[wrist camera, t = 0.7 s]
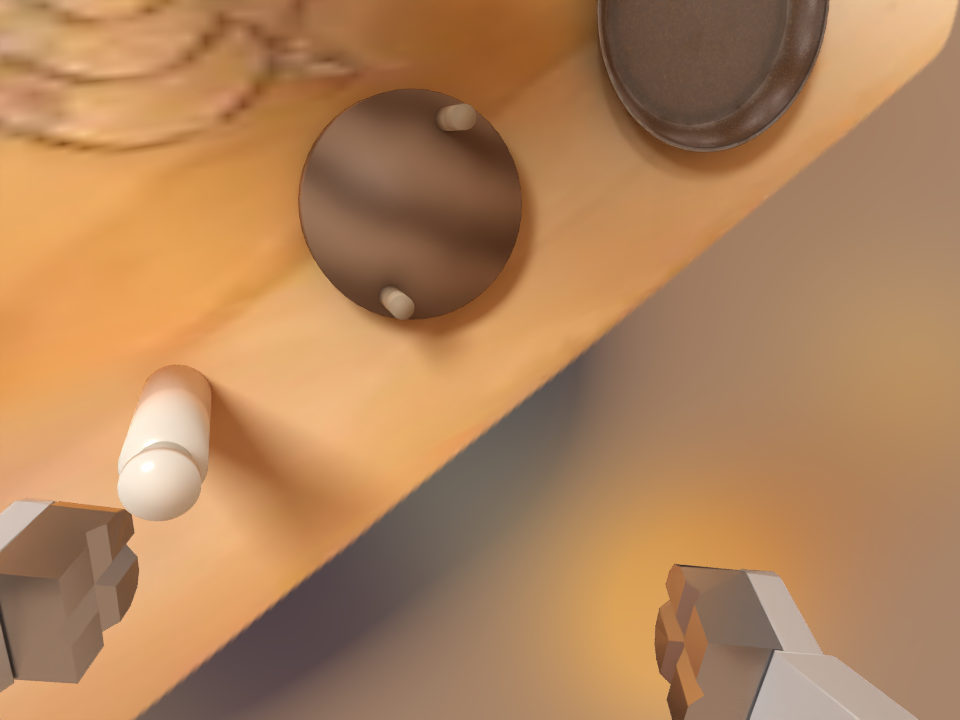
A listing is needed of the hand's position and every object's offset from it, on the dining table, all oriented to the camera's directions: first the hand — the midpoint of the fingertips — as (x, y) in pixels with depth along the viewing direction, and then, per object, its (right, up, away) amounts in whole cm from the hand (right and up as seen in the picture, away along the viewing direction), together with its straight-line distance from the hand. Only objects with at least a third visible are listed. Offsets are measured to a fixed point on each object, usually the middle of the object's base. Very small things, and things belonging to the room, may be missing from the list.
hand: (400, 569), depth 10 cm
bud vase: (-21, +1, +39) cm, 44 cm away
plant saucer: (+18, +31, +44) cm, 57 cm away
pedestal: (-4, +15, +40) cm, 43 cm away
